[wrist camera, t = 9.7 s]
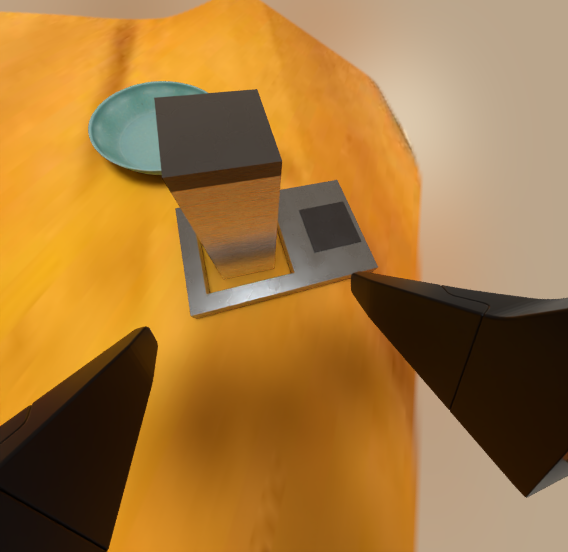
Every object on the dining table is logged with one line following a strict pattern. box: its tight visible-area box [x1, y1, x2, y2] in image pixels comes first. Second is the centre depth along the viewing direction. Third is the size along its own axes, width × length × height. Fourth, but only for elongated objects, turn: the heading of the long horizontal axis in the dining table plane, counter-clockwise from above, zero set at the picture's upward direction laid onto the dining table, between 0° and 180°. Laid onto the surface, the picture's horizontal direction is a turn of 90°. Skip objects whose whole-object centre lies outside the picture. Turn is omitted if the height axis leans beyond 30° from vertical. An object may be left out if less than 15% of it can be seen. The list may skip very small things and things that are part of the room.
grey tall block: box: [154, 89, 282, 279], centre depth 15 cm, size 5×5×12 cm
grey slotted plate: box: [175, 180, 378, 319], centre depth 21 cm, size 11×18×2 cm, turn 106°
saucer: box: [88, 81, 207, 175], centre depth 25 cm, size 15×15×3 cm
